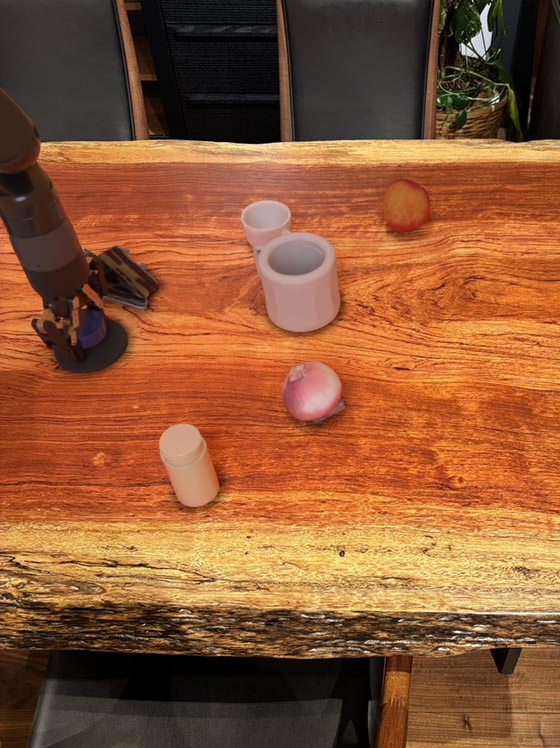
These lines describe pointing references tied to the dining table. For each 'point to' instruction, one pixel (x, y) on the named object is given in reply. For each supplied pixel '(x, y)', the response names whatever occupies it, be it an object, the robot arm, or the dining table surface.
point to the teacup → (265, 221)
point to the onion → (312, 392)
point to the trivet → (98, 352)
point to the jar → (188, 465)
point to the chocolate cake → (125, 278)
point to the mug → (299, 280)
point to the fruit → (405, 205)
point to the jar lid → (89, 328)
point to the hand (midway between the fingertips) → (90, 343)
